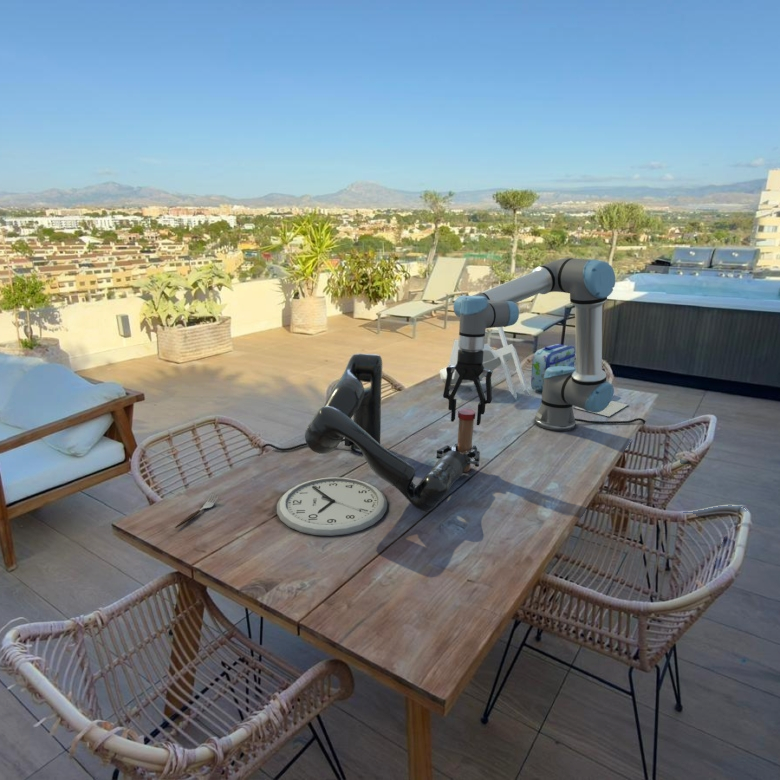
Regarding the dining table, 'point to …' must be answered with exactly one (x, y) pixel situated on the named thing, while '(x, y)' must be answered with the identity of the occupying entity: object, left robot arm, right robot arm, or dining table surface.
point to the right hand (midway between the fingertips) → (465, 421)
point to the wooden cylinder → (465, 437)
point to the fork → (206, 505)
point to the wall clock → (331, 506)
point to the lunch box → (550, 362)
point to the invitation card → (609, 408)
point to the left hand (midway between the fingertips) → (467, 446)
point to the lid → (466, 414)
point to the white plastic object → (491, 363)
